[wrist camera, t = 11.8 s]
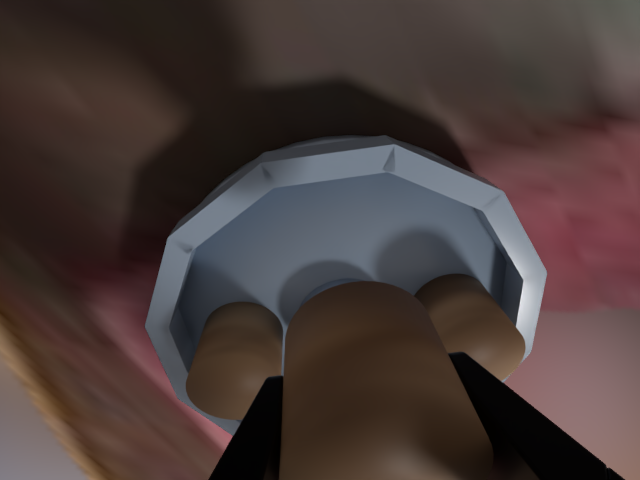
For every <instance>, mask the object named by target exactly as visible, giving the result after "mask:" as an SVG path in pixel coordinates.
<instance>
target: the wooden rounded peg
mask: <svg viewBox="0 0 640 480" xmlns="http://www.w3.org/2000/svg"><path fill="white" fill-rule="evenodd" d="M282 349H283V327H282V324H281V322H280V320H279V318H278V317H277V316H276V315H275V314H274V313H273V312H272V311H271V310H269V309H268V308H266V307H264V306H262V305H259V304H256V303H252V302H232V303H228V304H225V305H222V306H220V307H219V308H217V309H215V310H214V311H213V312H212V313H211V314H210V315H209V317H208V318H207V320H206V322H205V325H204V328H203V331H202V334H201V337H200V340H199V343H198V346H197V349H196V352H195V355H194V358H193V361H192V364H191V368H190V371H189V374H188V377H187V380H186V392H187V395H188V397H189V399H190V401H191V402H192V403H193V404H194V405H195V406H196V407H197V408H198V409H200V410H201V411H203V412H205V413H207V414H209V415H211V416H214V417H217V418H221V419H228V420H242V419H243V418H244V416H245V414H246V413H247V411H248V409H249V407H250V406H251V404H252V402H253V400H254V399H255V397H256V395H257V393H258V392H259V390H260V388H261V386H262V385H263V383H264V381H265V379H266V378H267V377H270V376H278V375H281V370H282Z"/></svg>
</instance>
